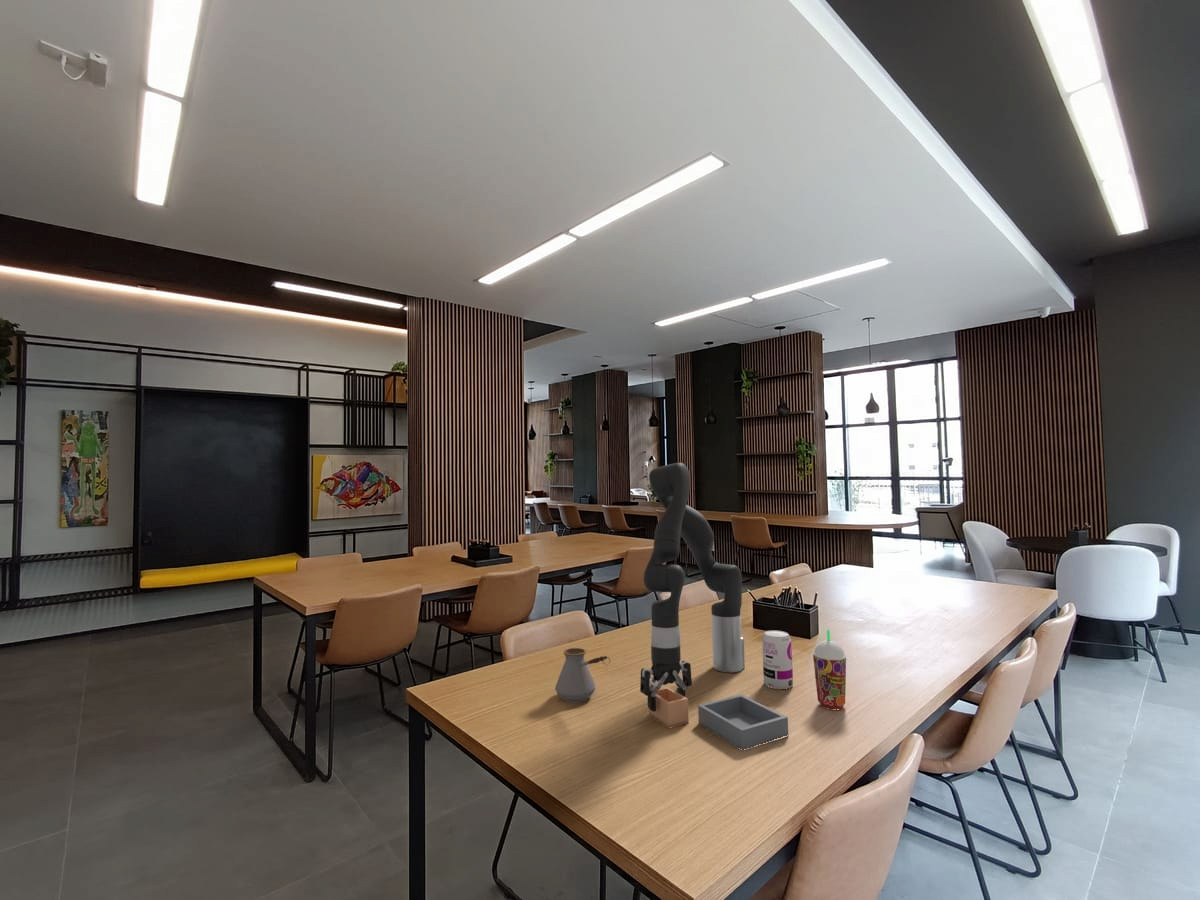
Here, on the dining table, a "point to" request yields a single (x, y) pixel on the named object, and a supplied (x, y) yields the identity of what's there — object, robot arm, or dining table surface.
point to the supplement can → (777, 659)
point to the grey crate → (742, 721)
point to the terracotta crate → (670, 708)
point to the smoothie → (830, 673)
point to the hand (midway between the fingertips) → (666, 707)
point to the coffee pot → (576, 676)
